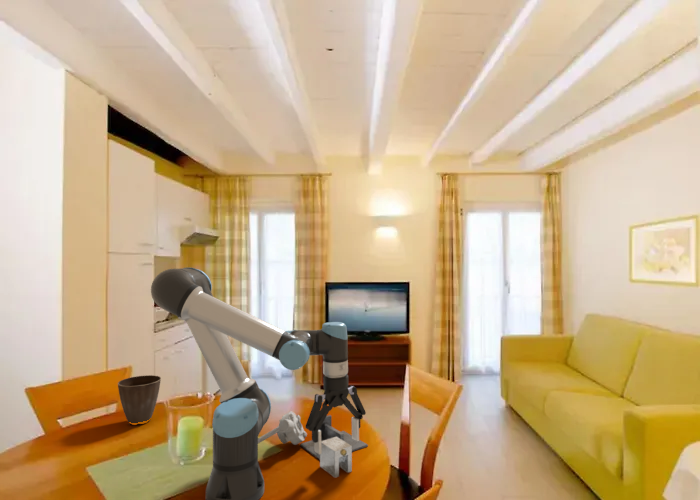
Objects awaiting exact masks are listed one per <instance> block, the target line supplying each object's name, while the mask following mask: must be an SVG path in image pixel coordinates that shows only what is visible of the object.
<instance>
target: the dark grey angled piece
mask: <svg viewBox="0 0 700 500" xmlns="http://www.w3.org/2000/svg"><path fill="white" fill-rule="evenodd" d="M319 430H320V431H321V441H324V440H327V439H330V438H333V437H338V438H340V439H341V440H343V441H345V442H346V443H348V444H350V445H351V446H352V453H353V452H355V451H358V450H361V449H364V448H367V447H368V446H369V444H367V443H366V442H364V441H362V440H361V439H359V441H356V440H354V439H352V434H351V433H348V432H347V431H345V430H342V431H340V430H338V429H336V428H335V427H333V426H332V415H331V414H327V416H326V418H325V420H324V421H323V423H322V425H321V427H320V428H319ZM299 447H302V449H304V450H306V451H307V453H309V454H311V455H312V456H313V457H315V458H316V459H318V460H319V461H320V455H319V454H318V453H316V452H315V451H314V442H313V441H312V439H311V440H309V441H305V442H300V443H299Z"/></svg>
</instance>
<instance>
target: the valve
mask: <svg viewBox="0 0 700 500" xmlns="http://www.w3.org/2000/svg"><path fill="white" fill-rule="evenodd" d="M301 418H302V417H301V416H300V415H299V414H296V413H295V412H294V411H292V410H291V411H288V412H287V413H285V414H284V415H282V416H281V418H280V419H279V423H278V425H277V427H276V428H275V427H274V428H273V429H272V430H269V431H268V432H267V433H265V434H263V435H261V436H260V437H258V445H259V444H260V443H262V442H264V441H266V440H267V439H268V438H270V437H273V436H274V435H276V434H277V437H278V439H279V440H280V442H281V443H282V444H287V443H288V442H291V444H292V445H294V446H297V445H298V444H301V443H303V441H305V439H306V437H308V436H307V435H308V433H307V432H306V431H305V429H304V427H303V424H302V423H301Z"/></svg>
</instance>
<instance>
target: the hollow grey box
mask: <svg viewBox="0 0 700 500" xmlns="http://www.w3.org/2000/svg"><path fill="white" fill-rule="evenodd" d="M321 450H322V454H320V460H319V467H320V468H321V469H323V470H324V471H325V472H326V473H328V474H329V475H331V477H333V478H338V477H340V469H342V470H343V471H344V472H346V473H347V474H349V473H351V472H352V471H353V469H352V468H353V462H352V461H353V458H352V457H353V452H352V446H351V445H350V444H348V443H346V442H345V441H343V440H341V439H340V438H338V437H333V438H330V439H327V440H324V441H321Z"/></svg>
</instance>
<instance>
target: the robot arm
mask: <svg viewBox="0 0 700 500" xmlns="http://www.w3.org/2000/svg"><path fill="white" fill-rule="evenodd" d="M212 286H213V285H212V282H211V279H210V277H209V276H208V274H207V273H205V272H204V271H203V270H202V269H197V268H194V267H182V268H169V269H165V270H163V271H162V272H159V273H158V274H157V275H156V276H155V277H154V278H153V281H152V282H151V285H150V296H151V297H152V300H153V302H154V303H155V304H156V305H157V306H158V307H159V308H160V309H162V310H164V311H166V312H167V313H171V314H172V315H174V316H176V317H177V318H178V320H181V321H184V322H186V325H187V326H188V328H189V330H190V332H191V334H192V336H193V338H194V340H195V342H196V344H197V346H198V348H199V350H200V352H201V355H202V356H203V358H204V360H205V362H206V364H207V367H208V369H209V370H210V373H211V374H212V377H213V378H214V380H215V382H216V384H217V387H218V388H219V390H220V393H221V394H220V396H219V402H220V404H219V405H218V406H216V408H215V409H214V411H213V418H212V424H211V426H212V468H211V472H210V475H209V478H208V481H207V484H206V487H205V500H260V499H261V498H262V497H263V495H264V493H265V479H264V476H263V472H262V470H261V468H260V463H259V459H258V458H259V456H258V455H259V454H258V453H259V444H258V438H259V435H260V433H261V432H262V430H263V428H264V426H265V425H266V424H267V422H268V420H269V417H270V414H271V410H272V402H271V398H270V396H269V394H268V393H267V392H266V391H265V390H264V389H263V388H260V387H259V385H258V383H257V381H256V379H253V378H250V377H249V376H248V375H247V372H246V371H245V368H244V367H243V364H242V362H241V361H240V358H239V357H238V355H237V353H236V351H235V349H234V346H233V344H232V343H231V341H230V339H229V337H230V338H232V339H234V340H236V341H238V342H241V343H243V344H245V345H247V346H248V347H251V348H253V349H255V350H257V351H260V352H262V353H264V354H265V355H267V356H270V357H272V358H274V359H276V360H279V362H280V364H281V366H283V367H284V368H285V369H287V370H290V371H296V370H300V369H301V368H303V366H304V365H306V363H307V362H308V361H309V359H310V356H322V373H323V376H322V380H323V385H322V386H323V393H322V394H318V393H316V394H315V395H314V400H313V404H312V407H311V409H310V412H309V415H308V417H307V420H306V424H305V429H307V430H308V431H310V432H311V440H312V441H313V442H314V451H315V452H316V453H318V454H319V455H320V454H322V450H321V431H320V430H319V428H320V427H321V425H322V423H323V421H324V420H325V418H326V416H328V415H329V412H331V410H333V408H337V407H341V406H345V408H346V409H347V410H348V411H349V412H350V413H351V415H352V417H351V435H352V439H354V440H356V441H359V440H360V429H361V420H362V419H363V418H364V416H365V415H366V413H367V412H366V409H365V408H364V405H363V403H362V401H361V399H360V397H359V395H358V390H357V389H358V388H357V387H355V386H354V385H349V375H348V373H349V362H348V361H349V360H348V359H349V356H348V355H349V351H348V350H349V349H348V345H349V344H348V338H349V337H348V331H347V330H348V327H347V325H346V323H344V322H341V321H330V322H324V323H322V328H321V329H305V330H304V329H300V330H299V329H298V330H297V329H293V330H283V329H282V328H280V327H278V326H275V325H273V324H272V323H269V322H267V321H265V320H263V319H260V318H259V317H256V316H255V315H252V314H250V313H248V312H246V311H244V310H242V309H239V308H238V307H235V306H233V305H231V304H229V303H227V302H225V301H223V300H221V299H218V298H217V297H214V295H213V293H212V290H213V289H212V288H213V287H212ZM348 396H349V397H350V398H351V400H352V402H353V404H354V405H353V404H352V403H351V401H350V400H349V399H348Z"/></svg>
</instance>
